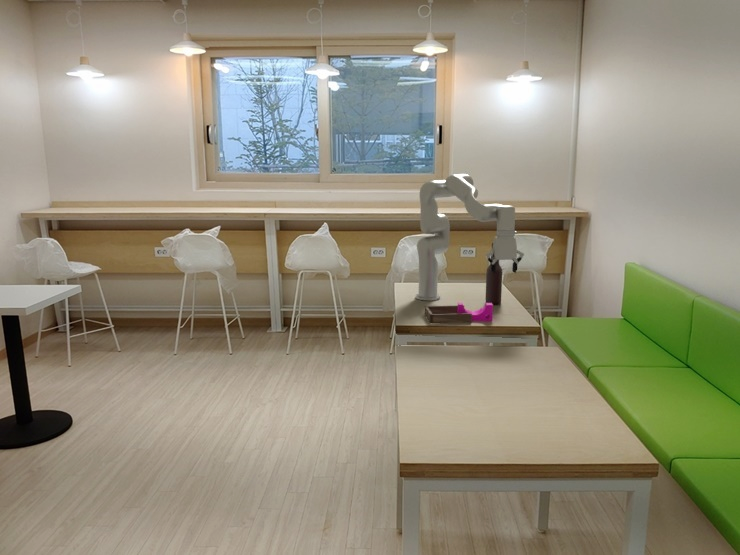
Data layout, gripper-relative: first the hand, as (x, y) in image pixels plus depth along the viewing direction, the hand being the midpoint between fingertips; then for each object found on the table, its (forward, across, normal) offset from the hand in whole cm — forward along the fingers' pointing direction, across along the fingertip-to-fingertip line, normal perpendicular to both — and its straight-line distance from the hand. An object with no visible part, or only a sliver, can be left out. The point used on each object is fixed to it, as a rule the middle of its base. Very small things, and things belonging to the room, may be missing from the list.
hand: (503, 272), depth 260 cm
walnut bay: (+20, +25, 0) cm, 32 cm away
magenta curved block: (+21, +13, +2) cm, 25 cm away
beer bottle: (+21, -3, -25) cm, 32 cm away
